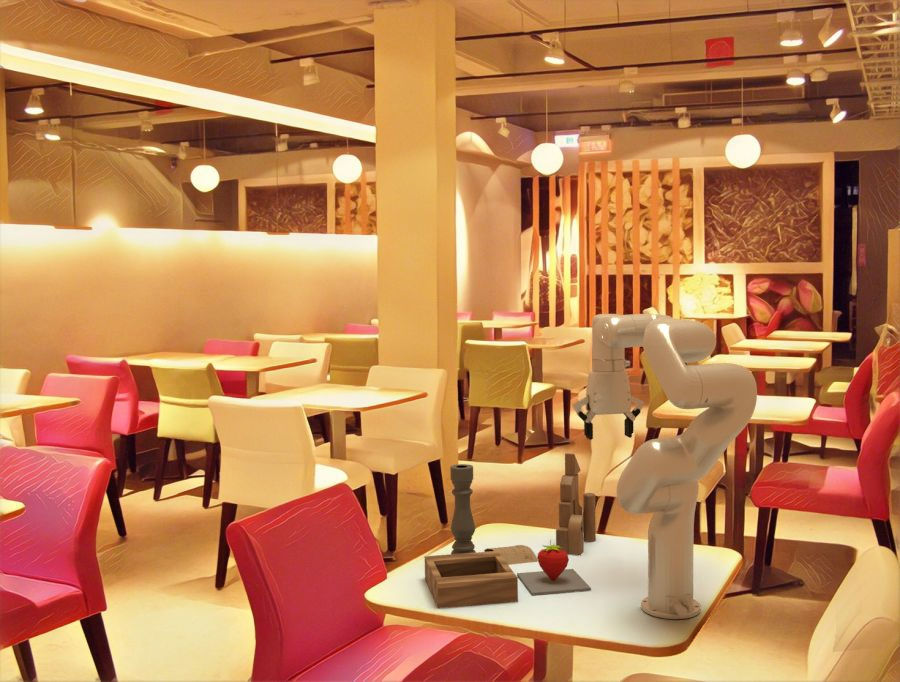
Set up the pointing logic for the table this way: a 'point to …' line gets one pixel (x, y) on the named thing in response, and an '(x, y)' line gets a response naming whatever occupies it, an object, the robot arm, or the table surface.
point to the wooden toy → (574, 511)
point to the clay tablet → (516, 554)
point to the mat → (553, 582)
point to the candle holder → (462, 509)
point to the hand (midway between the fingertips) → (608, 437)
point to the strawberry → (553, 560)
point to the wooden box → (470, 579)
